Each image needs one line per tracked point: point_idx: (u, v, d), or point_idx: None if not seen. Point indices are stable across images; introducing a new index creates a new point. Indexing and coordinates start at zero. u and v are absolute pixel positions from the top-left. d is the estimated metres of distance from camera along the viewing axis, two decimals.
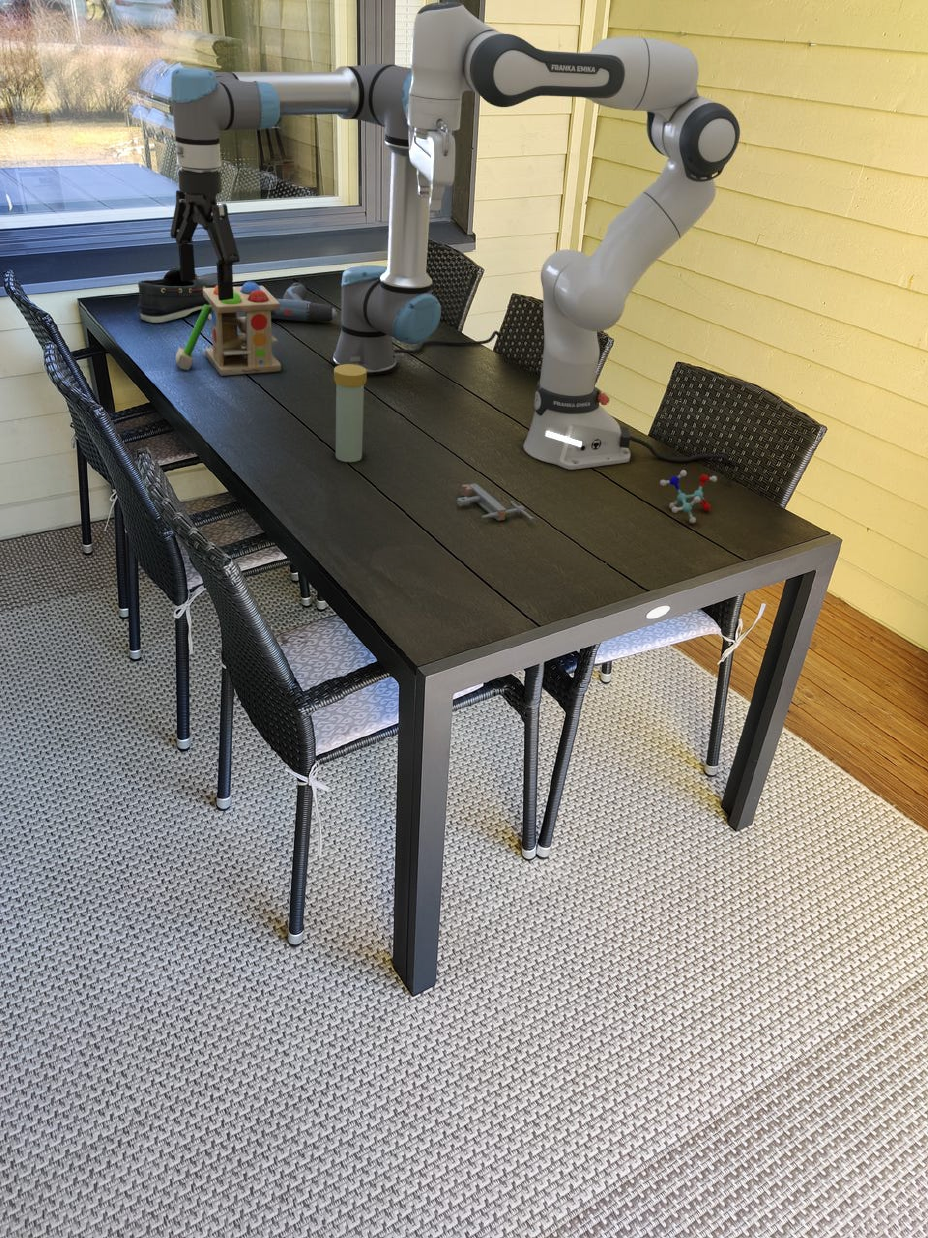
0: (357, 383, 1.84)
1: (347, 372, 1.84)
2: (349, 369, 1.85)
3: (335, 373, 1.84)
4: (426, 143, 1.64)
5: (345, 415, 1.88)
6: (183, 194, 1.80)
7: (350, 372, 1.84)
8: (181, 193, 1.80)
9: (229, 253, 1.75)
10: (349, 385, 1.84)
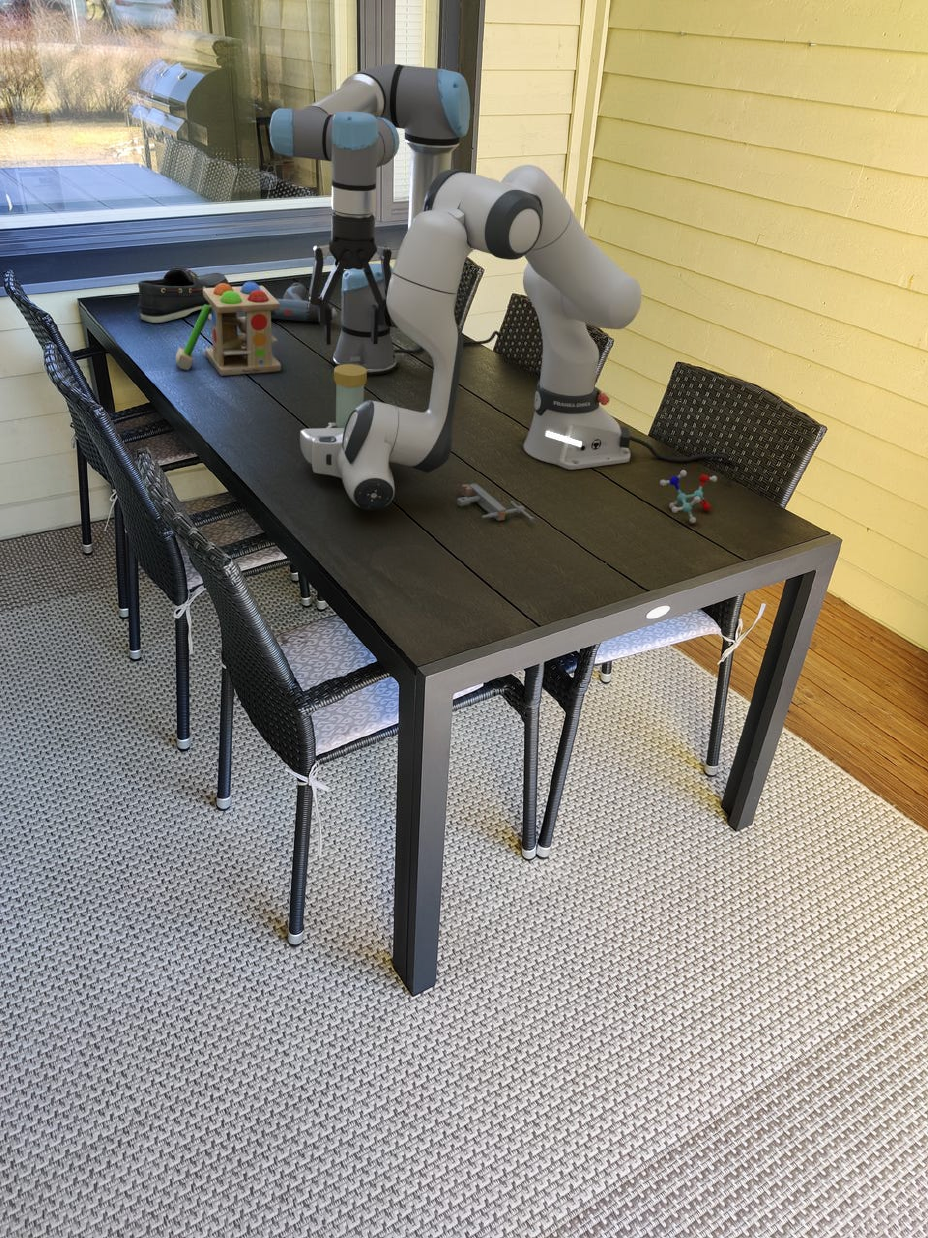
0: (357, 383, 1.84)
1: (347, 372, 1.84)
2: (349, 369, 1.85)
3: (335, 373, 1.84)
4: None
5: (345, 415, 1.88)
6: None
7: (350, 372, 1.84)
8: None
9: (309, 293, 1.76)
10: (349, 385, 1.84)
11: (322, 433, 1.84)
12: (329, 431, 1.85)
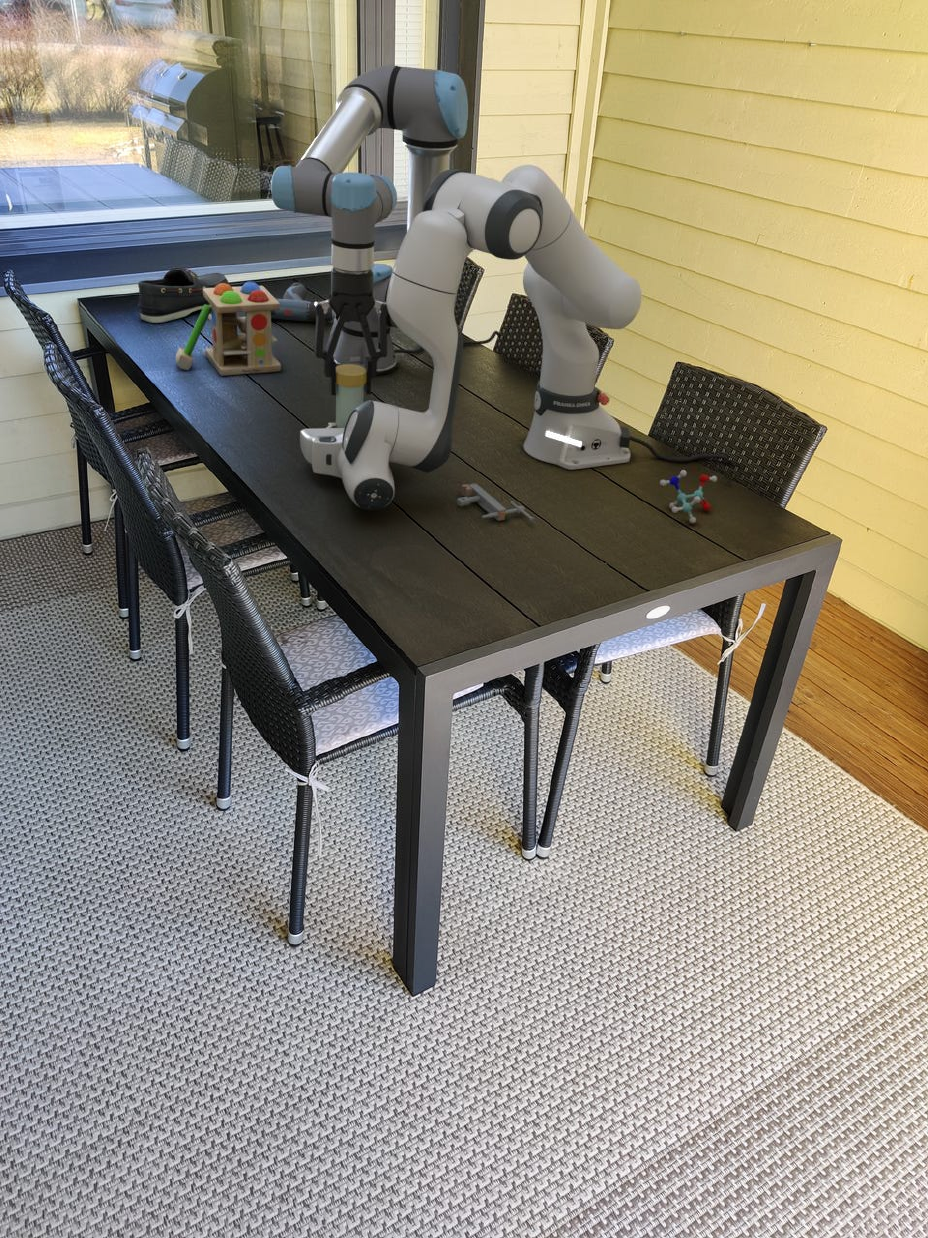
0: (357, 383, 1.84)
1: (347, 372, 1.84)
2: (349, 369, 1.85)
3: None
4: None
5: (345, 415, 1.88)
6: None
7: (350, 372, 1.84)
8: None
9: (314, 346, 1.81)
10: (349, 385, 1.84)
11: (322, 433, 1.84)
12: (329, 431, 1.85)
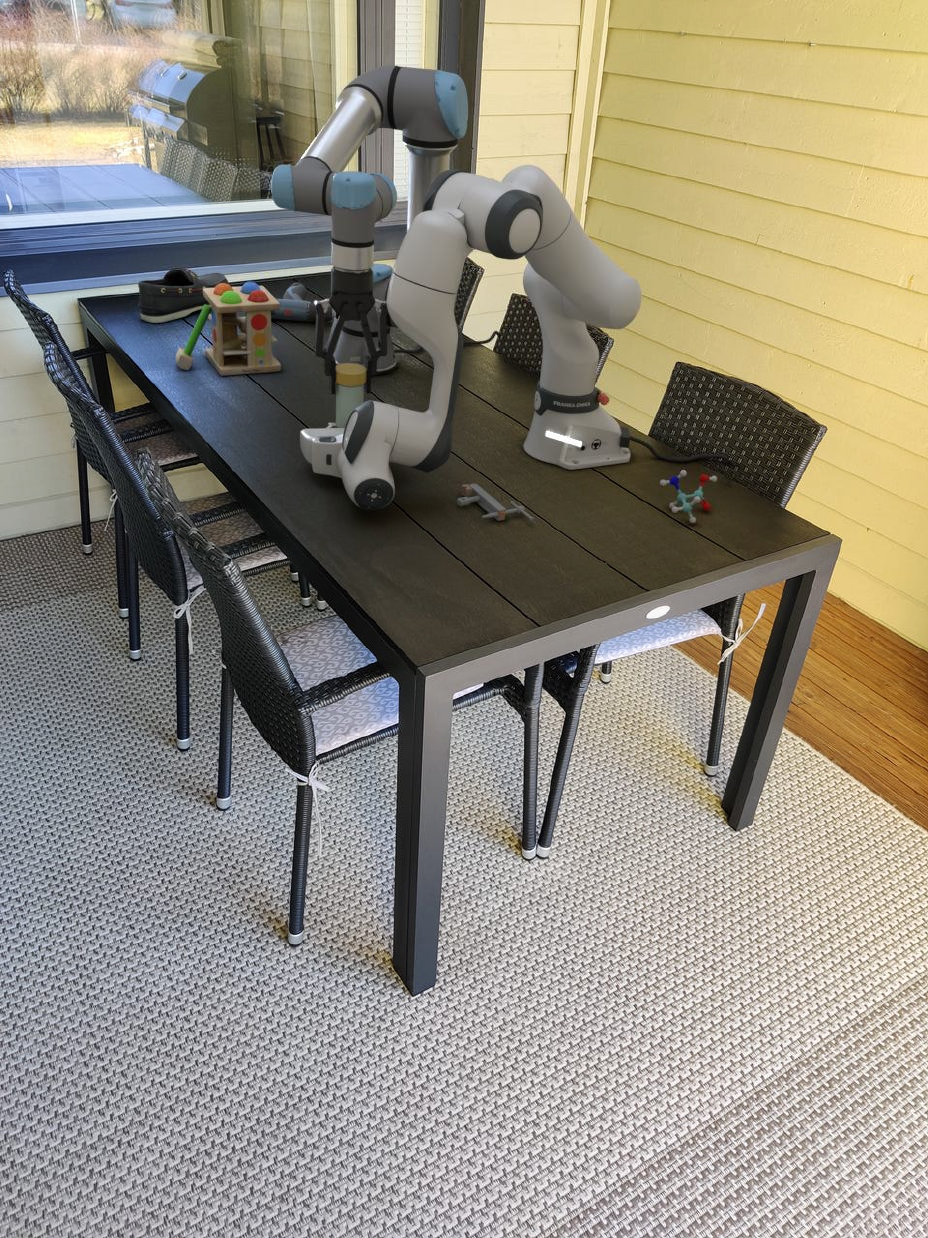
0: None
1: (358, 368, 1.85)
2: (350, 369, 1.85)
3: (363, 375, 1.84)
4: None
5: (345, 415, 1.88)
6: None
7: (356, 367, 1.86)
8: None
9: (314, 345, 1.81)
10: None
11: (322, 433, 1.84)
12: (329, 431, 1.85)
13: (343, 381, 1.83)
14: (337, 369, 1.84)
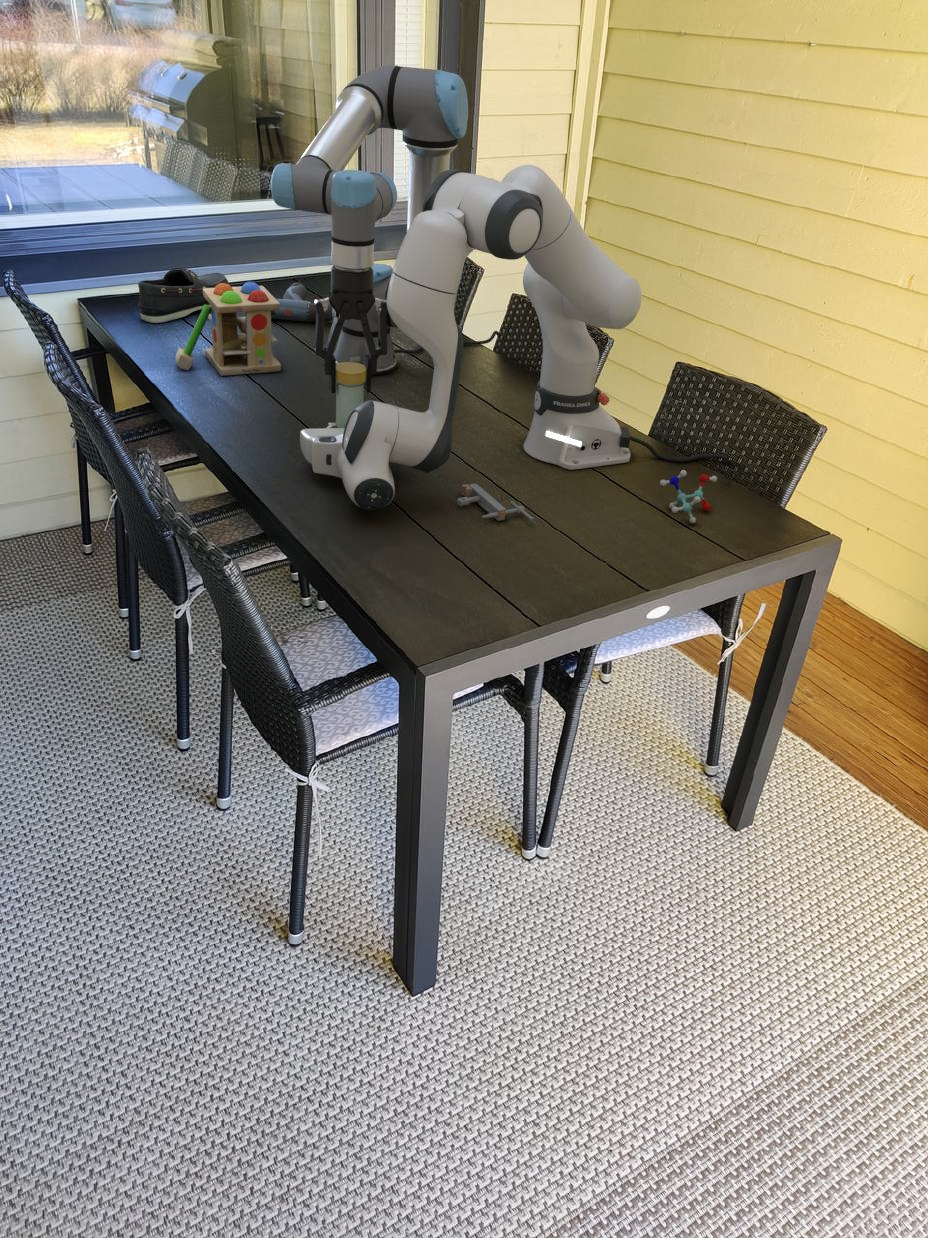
0: None
1: (345, 365, 1.86)
2: (351, 367, 1.85)
3: None
4: None
5: (345, 415, 1.88)
6: None
7: (343, 366, 1.85)
8: None
9: (314, 344, 1.81)
10: None
11: (322, 433, 1.84)
12: (329, 431, 1.85)
13: (366, 375, 1.86)
14: (360, 371, 1.84)
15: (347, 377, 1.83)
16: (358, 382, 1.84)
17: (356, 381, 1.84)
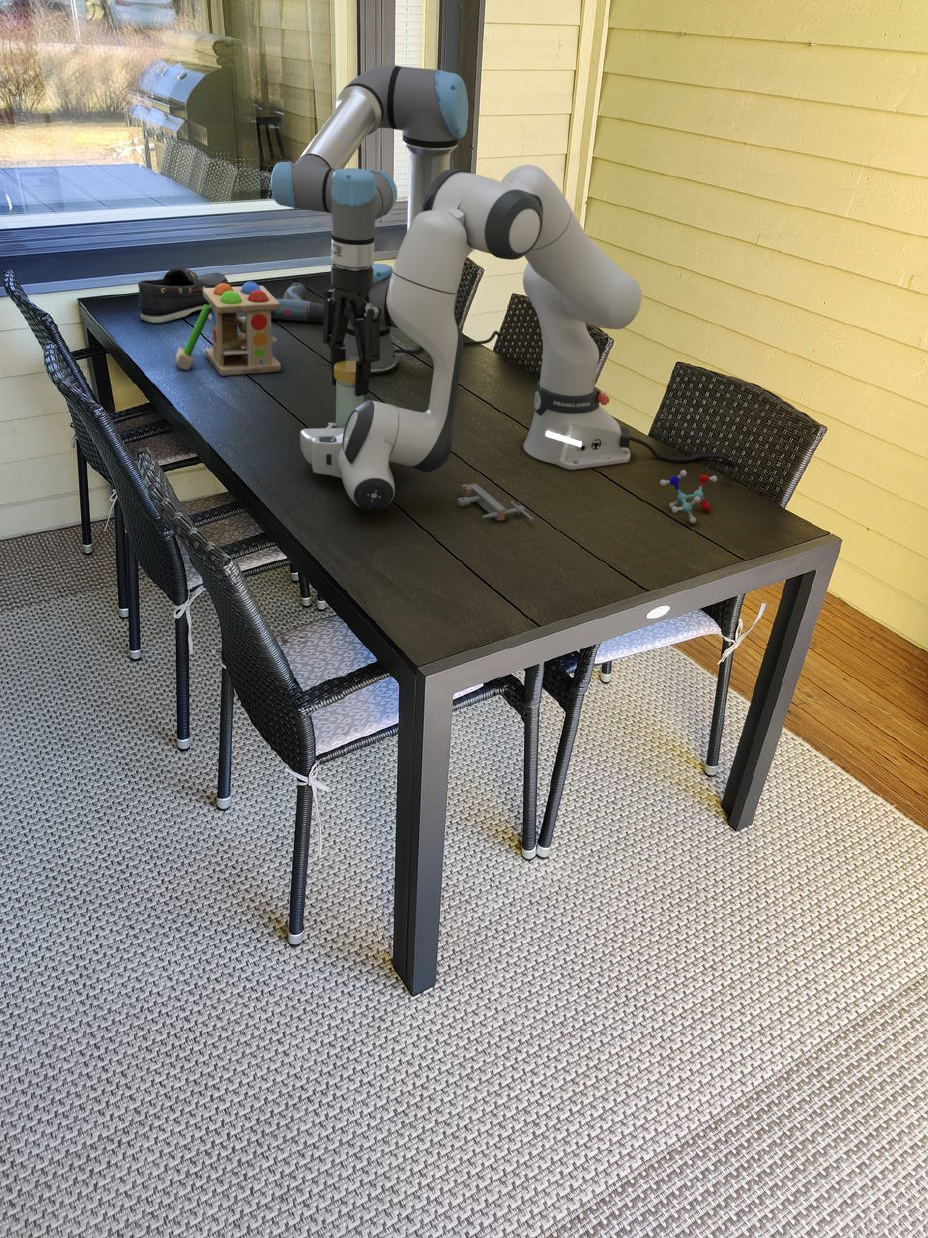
0: None
1: (348, 368, 1.84)
2: (349, 365, 1.85)
3: (335, 370, 1.84)
4: None
5: (345, 415, 1.88)
6: (330, 293, 1.80)
7: (351, 368, 1.84)
8: (328, 293, 1.80)
9: (372, 354, 1.79)
10: (350, 381, 1.83)
11: (322, 433, 1.84)
12: (329, 431, 1.85)
13: None
14: (353, 361, 1.87)
15: None
16: None
17: None
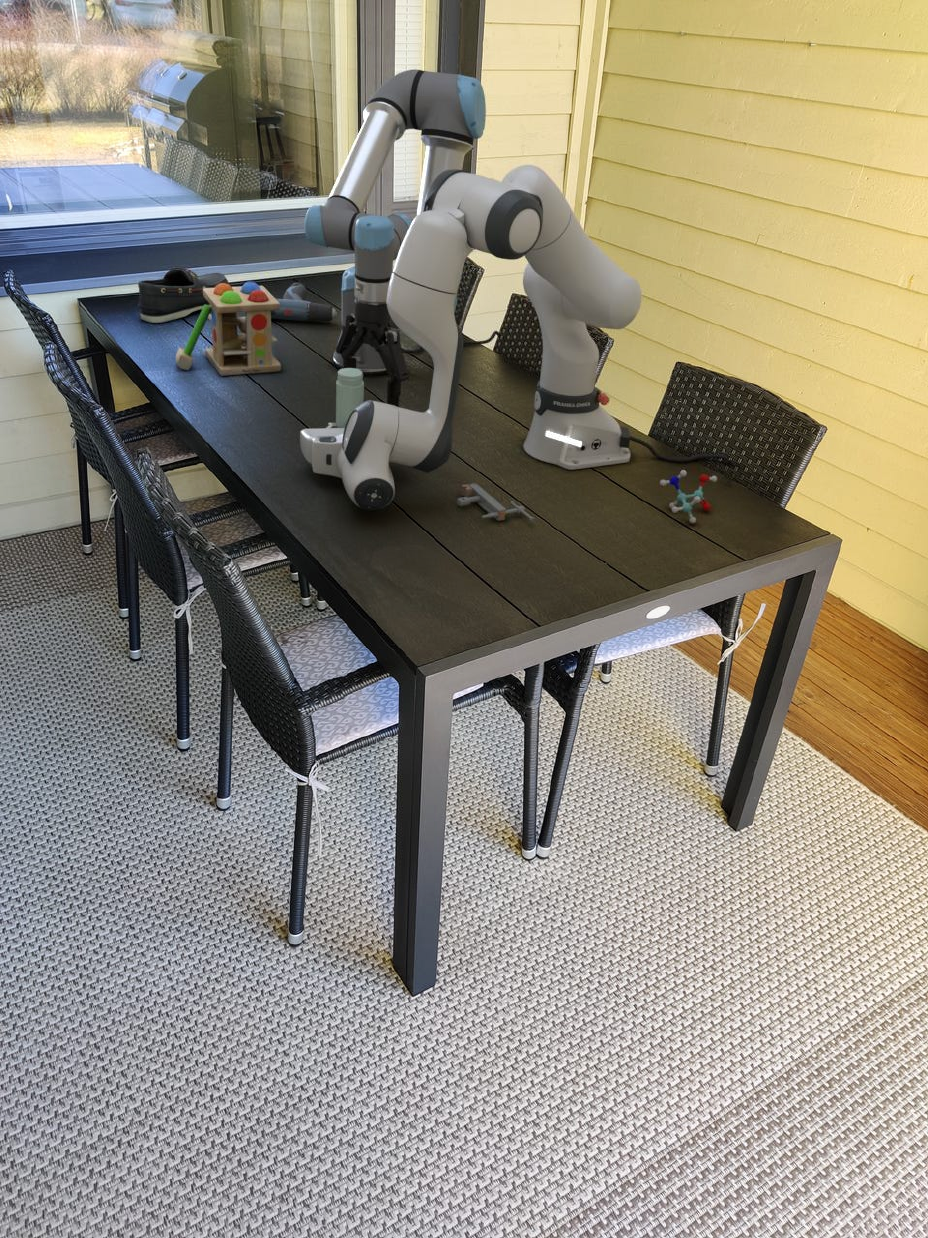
0: None
1: None
2: None
3: None
4: None
5: (345, 415, 1.88)
6: (353, 318, 2.03)
7: None
8: (351, 317, 2.03)
9: (401, 373, 1.99)
10: None
11: (322, 433, 1.84)
12: (329, 431, 1.85)
13: None
14: None
15: None
16: None
17: None
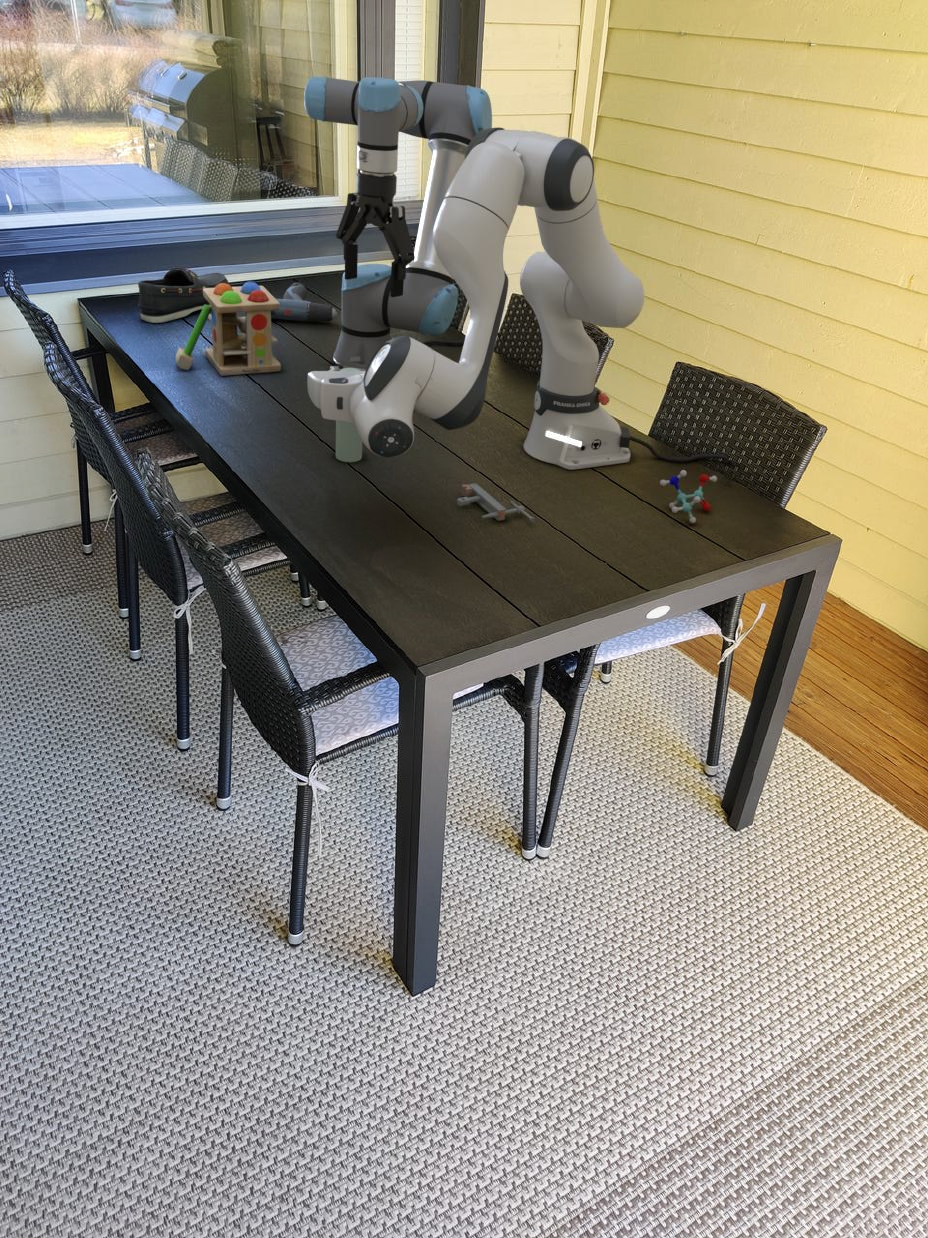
0: None
1: None
2: None
3: None
4: None
5: None
6: (355, 197, 1.89)
7: None
8: (353, 196, 1.89)
9: (406, 252, 1.85)
10: None
11: (332, 375, 1.66)
12: (340, 374, 1.67)
13: None
14: None
15: None
16: None
17: None
